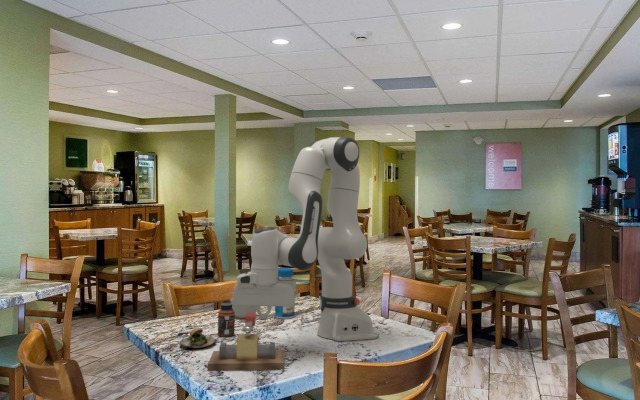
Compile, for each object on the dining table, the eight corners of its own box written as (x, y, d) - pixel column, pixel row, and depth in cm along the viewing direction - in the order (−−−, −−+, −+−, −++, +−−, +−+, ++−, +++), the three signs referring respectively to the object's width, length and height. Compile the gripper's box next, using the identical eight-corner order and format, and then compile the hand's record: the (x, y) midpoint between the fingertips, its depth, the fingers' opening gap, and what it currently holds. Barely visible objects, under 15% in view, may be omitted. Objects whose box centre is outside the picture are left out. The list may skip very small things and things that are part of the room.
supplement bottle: (230, 338, 181) (231, 306, 180) (215, 336, 182) (215, 305, 182) (237, 333, 186) (237, 302, 186) (221, 332, 188) (221, 301, 187)
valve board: (284, 356, 161) (284, 350, 160) (284, 369, 149) (284, 362, 149) (213, 357, 159) (213, 350, 159) (207, 370, 147) (207, 363, 147)
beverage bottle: (277, 313, 217) (277, 267, 217) (296, 314, 216) (297, 267, 216) (272, 318, 209) (272, 270, 209) (292, 319, 208) (293, 270, 207)
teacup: (254, 320, 206) (254, 300, 206) (227, 319, 206) (228, 300, 206) (259, 312, 220) (259, 293, 220) (234, 311, 220) (234, 293, 220)
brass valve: (275, 354, 157) (275, 328, 157) (274, 361, 151) (274, 334, 151) (221, 355, 156) (221, 329, 156) (218, 361, 150) (219, 334, 150)
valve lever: (252, 334, 152) (252, 324, 152) (242, 335, 152) (242, 325, 152) (255, 321, 169) (255, 312, 169) (246, 321, 169) (246, 312, 169)
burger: (182, 353, 164) (182, 330, 164) (177, 343, 175) (177, 321, 175) (219, 349, 169) (219, 326, 168) (212, 339, 179) (212, 318, 179)
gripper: (296, 275, 170) (295, 317, 170) (234, 275, 168) (233, 317, 168) (296, 278, 163) (295, 322, 163) (232, 278, 162) (231, 321, 162)
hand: (263, 319), depth 166 cm, fingers closed
